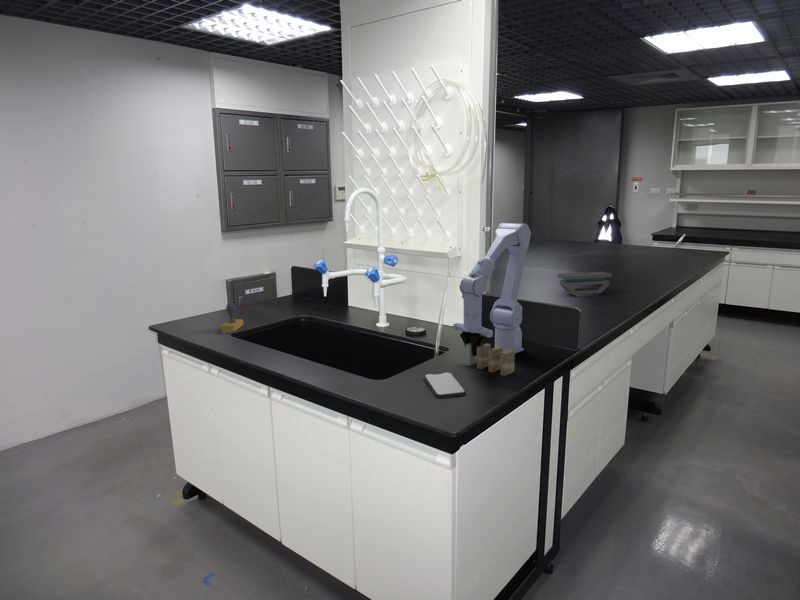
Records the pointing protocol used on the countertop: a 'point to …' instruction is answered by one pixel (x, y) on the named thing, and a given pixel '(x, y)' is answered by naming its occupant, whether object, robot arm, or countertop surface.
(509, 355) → the maple domino
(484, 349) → the maple domino
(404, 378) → the countertop surface
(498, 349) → the maple domino
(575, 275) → the sharpening stone
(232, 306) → the rubber stamp
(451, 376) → the phone case
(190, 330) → the countertop surface
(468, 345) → the domino sage
